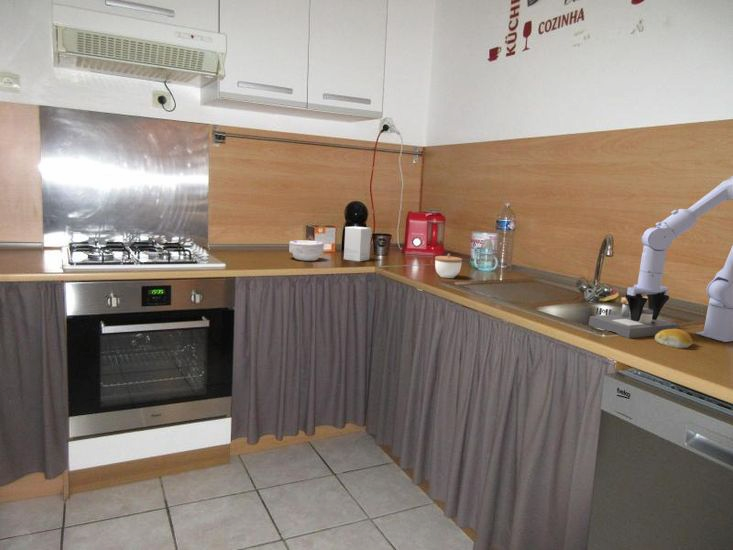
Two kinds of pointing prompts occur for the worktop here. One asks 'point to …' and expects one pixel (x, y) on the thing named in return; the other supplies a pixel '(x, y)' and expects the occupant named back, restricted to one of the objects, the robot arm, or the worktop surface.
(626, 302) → the tan long bar
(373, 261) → the worktop surface
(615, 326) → the socket panel
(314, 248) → the paper bowls
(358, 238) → the supplement box
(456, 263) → the lidded jar
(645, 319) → the plug
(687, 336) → the bread roll
